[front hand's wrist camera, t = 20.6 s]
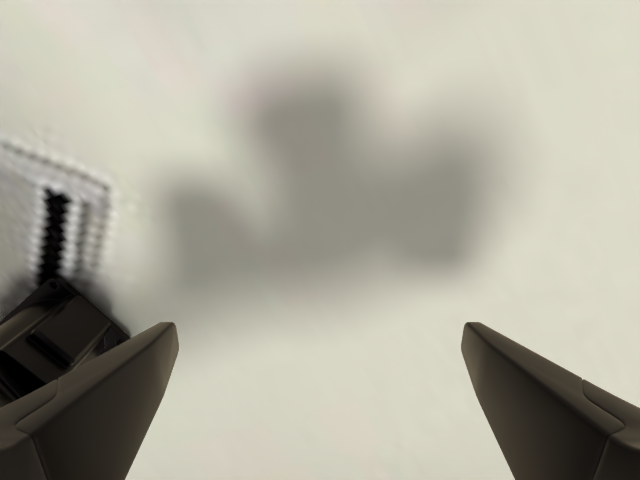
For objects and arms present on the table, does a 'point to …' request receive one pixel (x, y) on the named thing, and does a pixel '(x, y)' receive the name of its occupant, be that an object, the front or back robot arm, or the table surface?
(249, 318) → the table surface
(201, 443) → the table surface
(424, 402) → the table surface
